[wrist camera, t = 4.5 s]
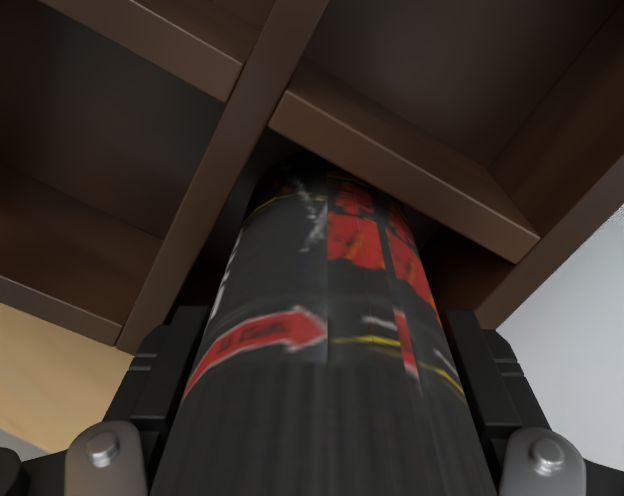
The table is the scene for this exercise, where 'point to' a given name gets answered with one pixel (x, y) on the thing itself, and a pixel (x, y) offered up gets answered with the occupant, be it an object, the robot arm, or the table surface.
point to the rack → (297, 141)
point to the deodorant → (323, 357)
